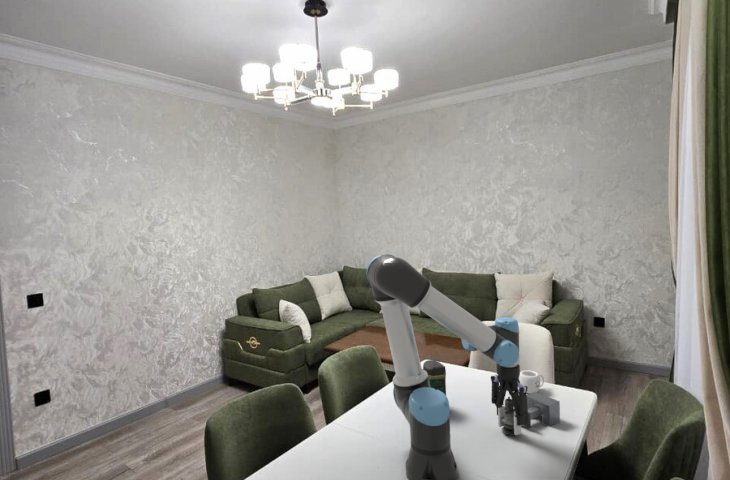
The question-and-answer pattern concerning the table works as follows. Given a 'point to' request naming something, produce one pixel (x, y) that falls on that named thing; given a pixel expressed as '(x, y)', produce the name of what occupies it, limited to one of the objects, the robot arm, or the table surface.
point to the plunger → (531, 415)
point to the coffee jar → (436, 375)
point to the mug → (531, 380)
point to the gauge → (545, 407)
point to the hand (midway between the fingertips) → (509, 429)
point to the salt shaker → (508, 417)
